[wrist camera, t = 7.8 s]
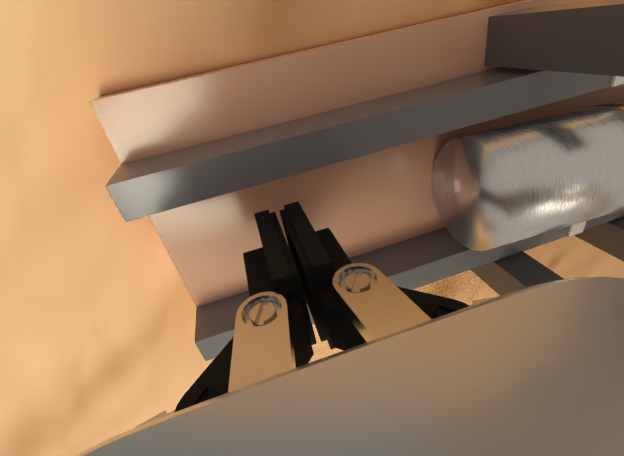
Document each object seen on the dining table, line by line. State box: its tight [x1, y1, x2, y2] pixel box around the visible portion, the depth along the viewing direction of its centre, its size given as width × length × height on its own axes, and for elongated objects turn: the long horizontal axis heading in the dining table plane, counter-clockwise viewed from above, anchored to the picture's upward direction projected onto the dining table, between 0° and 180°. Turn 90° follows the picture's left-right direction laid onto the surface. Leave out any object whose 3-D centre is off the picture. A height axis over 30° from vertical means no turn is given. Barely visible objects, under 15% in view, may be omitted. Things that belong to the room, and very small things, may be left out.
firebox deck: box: [89, 0, 624, 361], centre depth 13 cm, size 12×25×6 cm, turn 100°
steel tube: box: [432, 100, 624, 251], centre depth 13 cm, size 13×4×5 cm, turn 97°
